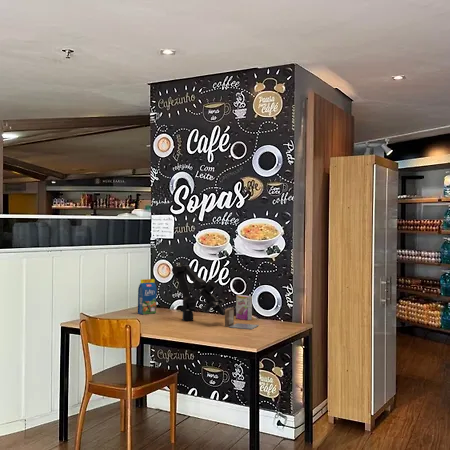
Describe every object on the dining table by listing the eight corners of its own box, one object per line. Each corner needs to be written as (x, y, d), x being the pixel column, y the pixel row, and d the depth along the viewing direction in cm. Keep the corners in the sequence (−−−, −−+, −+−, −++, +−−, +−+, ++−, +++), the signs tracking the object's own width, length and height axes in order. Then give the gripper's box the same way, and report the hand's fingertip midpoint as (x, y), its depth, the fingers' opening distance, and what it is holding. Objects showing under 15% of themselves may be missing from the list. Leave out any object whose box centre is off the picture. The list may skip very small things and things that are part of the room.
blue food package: (156, 313, 417) (157, 279, 418) (142, 314, 410) (143, 279, 410) (151, 312, 422) (152, 278, 423) (137, 313, 414) (138, 279, 415)
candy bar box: (235, 318, 400) (235, 295, 400) (240, 318, 404) (240, 294, 404) (247, 320, 392) (247, 296, 393) (252, 319, 396) (252, 296, 396)
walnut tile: (224, 326, 364) (225, 309, 364) (230, 324, 374) (230, 307, 374) (228, 327, 363) (228, 309, 364) (233, 324, 373) (234, 307, 373)
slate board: (228, 327, 360) (228, 326, 360) (237, 324, 375) (237, 323, 375) (251, 329, 355) (251, 328, 355) (258, 325, 370) (258, 325, 370)
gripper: (205, 303, 385) (220, 320, 381) (194, 306, 367) (209, 324, 363) (216, 292, 382) (231, 309, 378) (205, 294, 365) (221, 313, 360)
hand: (223, 314), depth 370 cm, fingers closed
